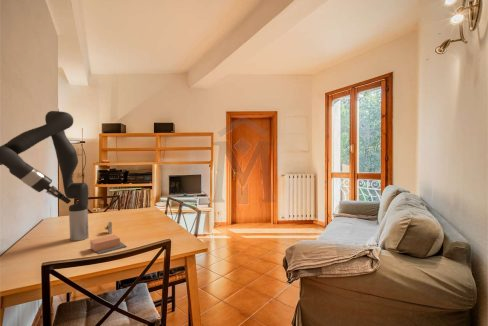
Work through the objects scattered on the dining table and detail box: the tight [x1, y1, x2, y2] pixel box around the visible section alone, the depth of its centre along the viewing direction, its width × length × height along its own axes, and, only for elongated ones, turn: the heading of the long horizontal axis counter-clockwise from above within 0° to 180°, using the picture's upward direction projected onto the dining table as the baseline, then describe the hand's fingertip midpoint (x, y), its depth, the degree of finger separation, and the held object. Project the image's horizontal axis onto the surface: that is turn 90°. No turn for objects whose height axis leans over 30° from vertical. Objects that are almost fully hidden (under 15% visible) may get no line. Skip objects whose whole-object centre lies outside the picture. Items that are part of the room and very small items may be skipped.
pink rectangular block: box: [89, 234, 121, 252], centre depth 131 cm, size 8×4×12 cm
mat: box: [96, 241, 127, 255], centre depth 132 cm, size 15×13×1 cm
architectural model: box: [103, 220, 113, 235], centre depth 156 cm, size 3×7×7 cm, turn 37°
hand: (69, 202), depth 124 cm, fingers closed
